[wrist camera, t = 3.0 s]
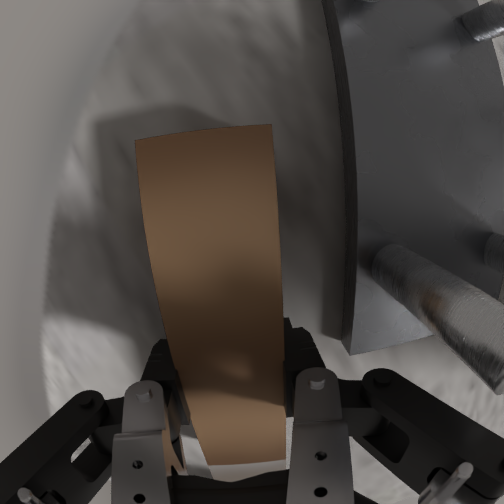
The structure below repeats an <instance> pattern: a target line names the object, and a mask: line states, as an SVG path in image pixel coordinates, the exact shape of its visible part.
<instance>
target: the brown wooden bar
mask: <svg viewBox="0 0 504 504" xmlns="http://www.w3.org/2000/svg"><path fill="white" fill-rule="evenodd" d="M135 148H136V160H137V171H138V181H139V190H140V198H141V206H142V213H143V220H144V227H145V234H146V240H147V246H148V252H149V258H150V263H151V268H152V274H153V279H154V284H155V289H156V293H157V298H158V303H159V307H160V312H161V316H162V320H163V324H164V329H165V333H166V337H167V341H168V344H169V348H170V352H171V356H172V359H173V363H174V366H175V369H177V371H178V374H179V378H180V381H181V385H182V388H183V391H184V394H185V398H186V401H187V404H188V407H189V410H190V413H191V415H190V418H191V421H192V424H193V427H194V430H195V432H196V435H197V438H198V441H199V443H200V446H201V449H202V451H203V454H204V456H205V459H206V462H207V464H208V467H209V469H210V472H211V474H212V476H213V479H214V480H220V481H226V482H234V481H238V480H242V479H246V478H249V477H253V476H256V475H259V474H263V473H266V472H272V471H280V470H286V413H285V409H284V384H283V361H285V352H284V321H283V295H282V273H281V253H280V235H279V218H278V203H277V188H276V174H275V160H274V148H273V135H272V124H267V125H250V126H236V127H225V128H215V129H205V130H197V131H189V132H182V133H175V134H169V135H162V136H156V137H150V138H145V139H140V140H135Z"/></svg>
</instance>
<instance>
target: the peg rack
mask: <svg viewBox="0 0 504 504" xmlns="http://www.w3.org/2000/svg"><path fill="white" fill-rule="evenodd" d="M322 3H323V8H324V13H325V18H326V23H327V28H328V33H329V38H330V44H331V50H332V56H333V63H334V69H335V77H336V84H337V92H338V100H339V110H340V120H341V130H342V143H343V157H344V176H345V204H346V262H345V291H344V309H343V324H342V337H341V342H342V344H343V345H344V347H345V349H346V350H347V352H348V354H349V355H350V356H351V355H355V354H360V353H365V352H369V351H374V350H378V349H382V348H386V347H390V346H394V345H398V344H402V343H406V342H410V341H413V340H417V339H420V338H424V337H427V336H431V335H434V334H435V335H436V336H437V337H438V338H439V339H440V340H441V341H442V342H443V343H444V344H445V345H446V346H447V347H449V348H450V349H451V350H452V351H453V352H454V353H455V354H456V355H457V356H458V357H459V358H460V359H461V360H462V361H463V362H464V363H465V364H466V365H467V366H468V367H469V368H470V369H471V370H472V371H473V372H474V373H475V374H476V375H477V376H478V377H479V378H480V379H481V380H482V381H483V382H484V383H485V384H486V385H487V386H488V387H489V388H490V389H491V390H492V391H493V392H494V393H495V394H496V395H501V394H503V393H504V304H502V303H501V302H499V301H498V298H499V294H500V289H501V285H502V280H503V275H504V86H503V81H502V77H501V72H500V68H499V64H498V60H497V56H496V53H495V49H494V46H493V42H492V39H493V38H496V37H499V36H502V35H504V0H491V1H489V2H487V3H485V4H482V5H480V6H479V4H478V1H477V0H322Z"/></svg>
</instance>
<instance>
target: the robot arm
mask: <svg viewBox="0 0 504 504" xmlns="http://www.w3.org/2000/svg"><path fill="white" fill-rule="evenodd" d="M283 321H284V352H285V361H283V384H284V409H285V413H286V418H287V417H294V422H293V431H292V444H291V457H290V469H287V470H280V471H272V472H266V473H263V474H259V475H256V476H253V477H249V478H246V479H242V480H238V481H234V482H226V481H220V480H214V479H209V478H204V477H199V476H194V475H188V473H187V468H186V462H185V457H184V451H183V445H182V439H181V435H180V426H181V425H189V423H190V415H191V413H190V410H189V407H188V404H187V401H186V398H185V394H184V391H183V388H182V385H181V381H180V378H179V374H178V371H177V369H175V366H174V363H173V359H172V356H171V352H170V348H169V344H168V341H167V339H160V340H159V341H158V342H157V343H156V344H155V345H154V346H153V348H152V351H151V355H150V356H149V359H148V362H147V364H146V367H145V369H144V372H143V375H142V377H141V380H140V381H139V382H136V383H134V384H132V385H131V386H130V387H128V389H127V390H126V392H125V395H124V397H121V398H115V399H110V400H105V399H104V397H103V396H102V394H101V393H99V392H98V391H94V390H86V391H83V392H80V393H78V394H76V395H75V396H74V397H73V398H72V399H71V400H69V401H68V402H67V403H66V404H65V405H64V406H63V407H62V408H61V409H59V410H58V411H57V412H56V413H55V414H54V415H53V416H52V417H51V418H49V419H48V420H47V421H46V422H45V423H44V424H43V425H42V426H41V427H40V428H38V429H37V430H36V431H35V432H34V433H33V434H32V435H31V436H30V437H28V438H27V440H25V441H24V442H23V443H22V444H21V445H20V446H19V447H17V448H16V449H15V450H14V451H13V452H12V453H11V454H10V455H9V456H8V457H7V458H5V459H4V460H3V461H2V462H1V463H0V504H88V503H89V502H90V501H91V500H92V498H93V497H94V496H95V495H96V494H97V492H98V491H99V490H100V489H101V487H102V486H103V485H104V484H105V483H106V482H107V480H108V479H109V478H110V477H111V504H378V503H376V502H375V501H373V500H371V499H369V498H367V497H365V496H363V495H361V494H359V493H358V492H356V491H354V490H353V476H352V464H351V453H350V443H349V436H352V437H353V439H354V440H355V441H356V442H358V443H359V444H360V445H361V446H362V447H363V448H364V449H365V450H366V451H368V452H369V453H370V454H371V455H372V456H373V457H374V458H376V459H377V460H378V461H379V462H380V463H381V464H383V465H384V466H385V467H386V468H387V469H388V470H390V471H391V472H392V473H393V474H394V475H396V476H397V477H398V478H399V479H400V480H402V481H403V482H404V483H405V484H407V485H408V486H409V487H410V488H412V489H413V490H414V491H415V492H417V493H418V494H419V495H420V496H419V499H418V504H494V503H495V502H496V501H497V500H499V499H500V497H502V496H503V495H504V439H503V438H502V437H500V436H498V435H497V434H495V433H493V432H492V431H490V430H488V429H487V428H485V427H483V426H482V425H480V424H478V423H477V422H475V421H473V420H472V419H470V418H468V417H467V416H465V415H463V414H462V413H460V412H459V411H457V410H455V409H454V408H452V407H450V406H449V405H447V404H446V403H444V402H442V401H441V400H439V399H437V398H436V397H434V396H433V395H431V394H429V393H428V392H426V391H425V390H423V389H421V388H420V387H418V386H417V385H415V384H414V383H412V382H410V381H409V380H407V379H406V378H404V377H403V376H401V375H399V374H398V373H396V372H395V371H393V370H390V369H385V368H378V369H373V370H370V371H368V372H367V373H366V374H365V375H364V376H363V379H362V380H342V379H339V378H337V376H336V374H335V373H334V372H333V371H331V370H329V369H326V367H325V364H324V362H323V360H322V358H321V356H320V354H319V351H318V349H317V348H316V345H315V343H314V342H313V338H312V336H311V334H310V333H309V332H308V331H307V330H305V329H304V328H303V327H300V328H292V325H291V322H290V320H289V318H283ZM87 438H89V439H90V441H91V443H90V444H89V445H88V446H87V447H86V448H85V449H84V450H83V452H82V453H81V454H80V455H79V456H78V457H77V458H76V459H75V460H74V461H73V462H72V463H71V456H72V454H73V453H74V452H75V450H76V449H77V448H78V447H79V446H80V445H81V444H82V443H83V442H84V441H85V440H86V439H87Z"/></svg>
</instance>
